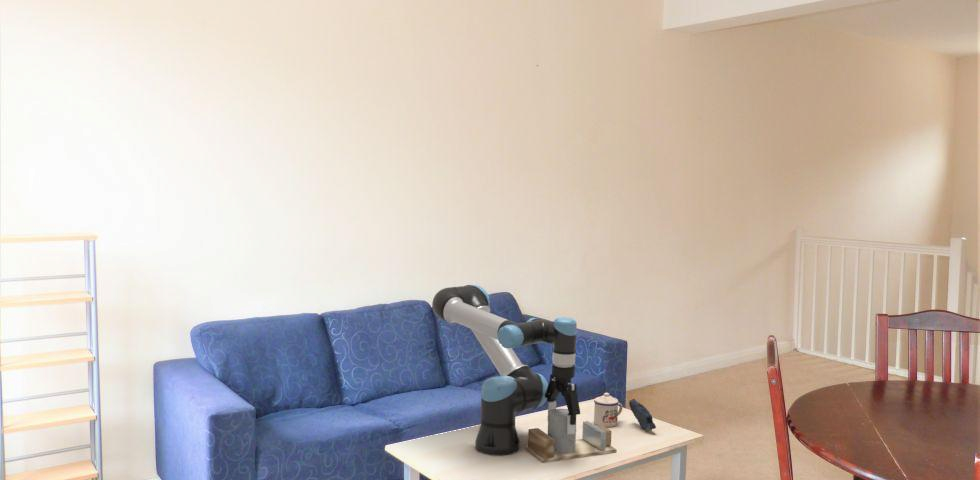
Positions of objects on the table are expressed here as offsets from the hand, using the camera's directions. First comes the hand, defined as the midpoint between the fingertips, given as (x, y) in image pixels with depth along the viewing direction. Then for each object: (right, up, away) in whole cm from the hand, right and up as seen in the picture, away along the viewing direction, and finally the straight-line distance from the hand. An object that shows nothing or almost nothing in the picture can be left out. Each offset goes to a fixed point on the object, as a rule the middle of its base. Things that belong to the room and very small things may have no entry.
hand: (561, 427), depth 259 cm
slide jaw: (+13, -7, +6) cm, 16 cm away
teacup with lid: (+21, -7, +32) cm, 39 cm away
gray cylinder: (0, -8, +1) cm, 8 cm away
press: (+3, -8, +2) cm, 9 cm away
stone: (+32, -7, +26) cm, 42 cm away
